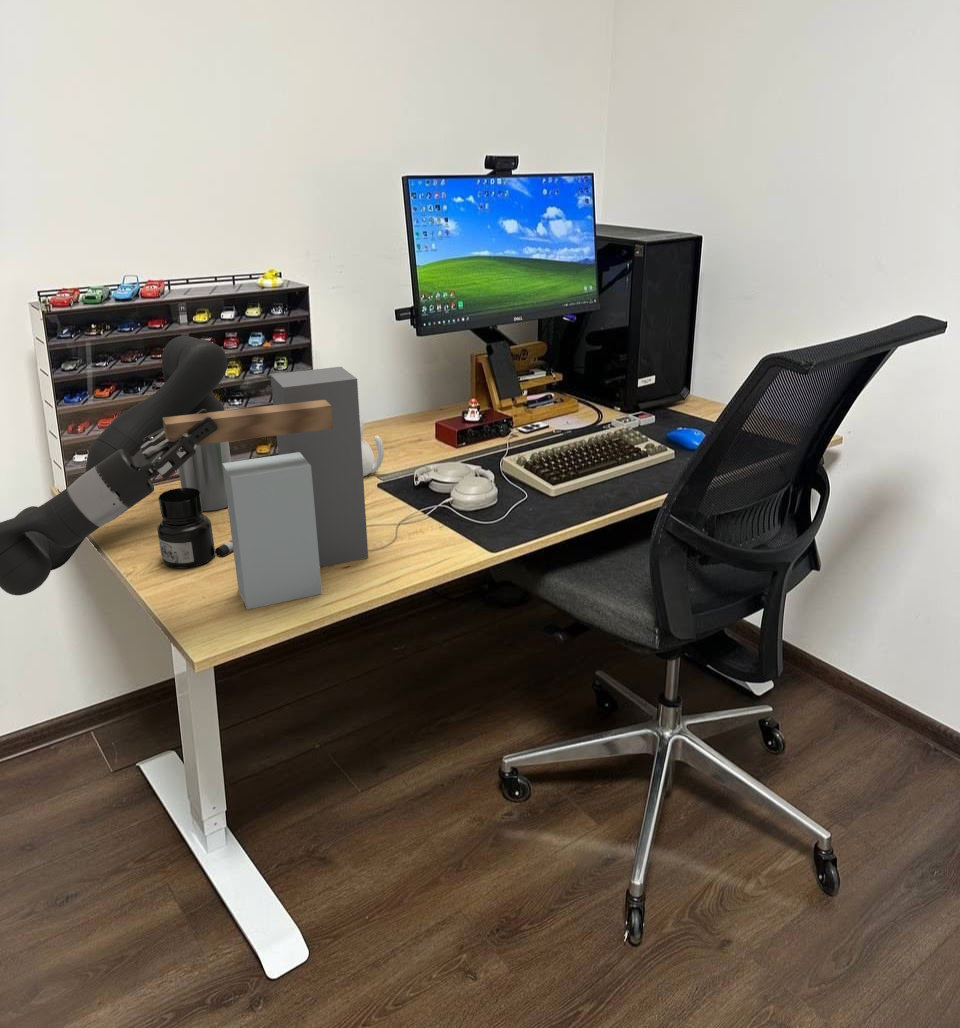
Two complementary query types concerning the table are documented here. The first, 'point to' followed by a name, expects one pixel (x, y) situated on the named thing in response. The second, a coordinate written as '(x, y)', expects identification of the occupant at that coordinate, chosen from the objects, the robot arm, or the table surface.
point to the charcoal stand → (330, 459)
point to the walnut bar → (256, 421)
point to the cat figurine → (370, 453)
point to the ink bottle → (184, 529)
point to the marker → (224, 549)
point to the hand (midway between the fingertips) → (211, 418)
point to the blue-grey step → (273, 528)
